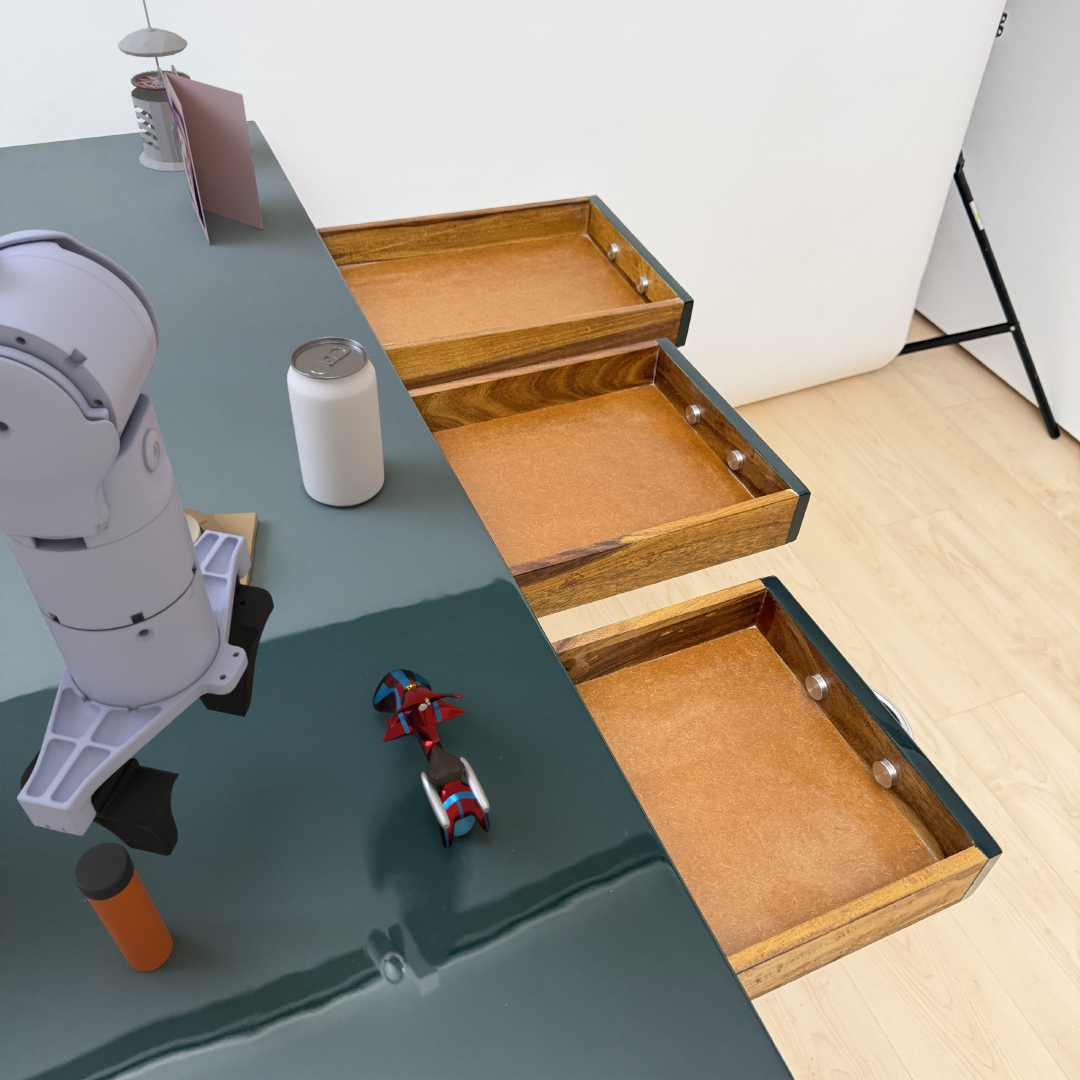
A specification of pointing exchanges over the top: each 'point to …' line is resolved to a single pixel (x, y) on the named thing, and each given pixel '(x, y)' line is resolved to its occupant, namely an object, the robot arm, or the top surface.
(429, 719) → the hoverbike
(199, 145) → the greeting card
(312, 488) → the can
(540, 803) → the top surface
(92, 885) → the marker
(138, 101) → the french press
